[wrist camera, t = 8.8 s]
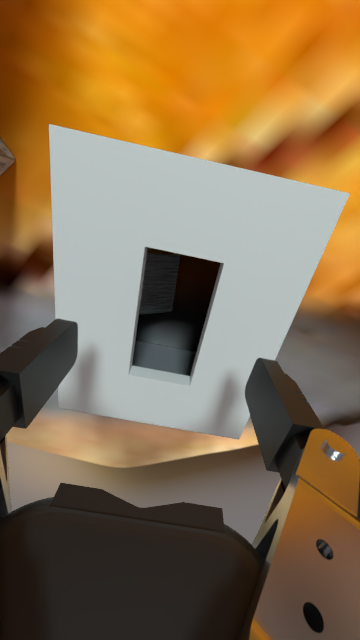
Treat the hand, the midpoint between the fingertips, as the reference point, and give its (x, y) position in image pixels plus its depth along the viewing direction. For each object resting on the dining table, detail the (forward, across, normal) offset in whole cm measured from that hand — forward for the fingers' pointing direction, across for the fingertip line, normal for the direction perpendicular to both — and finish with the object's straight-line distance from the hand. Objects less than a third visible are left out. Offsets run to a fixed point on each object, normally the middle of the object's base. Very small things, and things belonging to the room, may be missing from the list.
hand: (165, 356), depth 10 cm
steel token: (+10, +3, +2) cm, 11 cm away
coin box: (+12, 0, 0) cm, 12 cm away
